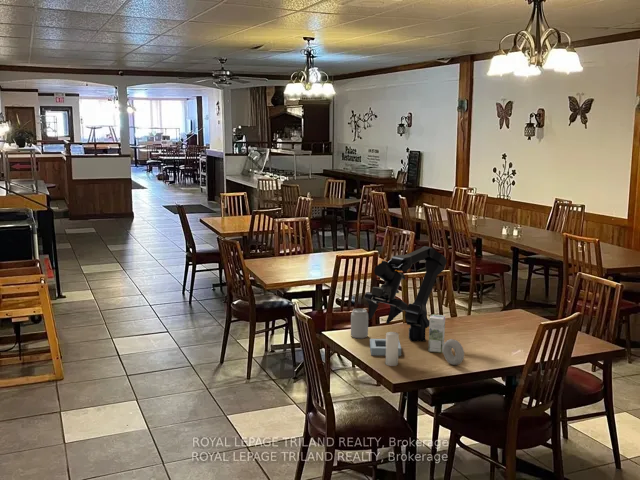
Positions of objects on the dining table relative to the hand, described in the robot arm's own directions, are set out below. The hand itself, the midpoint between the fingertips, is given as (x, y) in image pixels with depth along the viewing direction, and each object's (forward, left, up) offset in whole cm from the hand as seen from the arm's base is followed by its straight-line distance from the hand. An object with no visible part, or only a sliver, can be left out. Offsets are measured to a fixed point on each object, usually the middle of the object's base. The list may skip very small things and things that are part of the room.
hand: (378, 321), depth 254 cm
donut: (-28, +11, -14) cm, 33 cm away
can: (+7, -22, -14) cm, 27 cm away
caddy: (-3, -4, -13) cm, 14 cm away
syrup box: (-24, -5, -14) cm, 28 cm away
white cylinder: (-5, +12, -13) cm, 18 cm away
